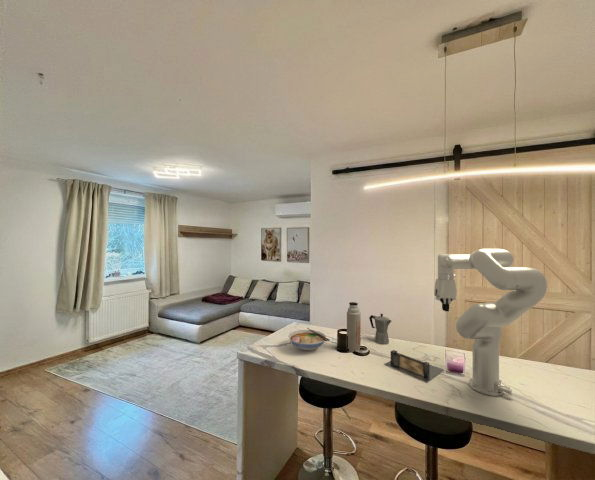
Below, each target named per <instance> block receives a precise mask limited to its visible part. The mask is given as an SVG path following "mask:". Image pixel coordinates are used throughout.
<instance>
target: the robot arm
mask: <svg viewBox="0 0 595 480" xmlns="http://www.w3.org/2000/svg"><path fill="white" fill-rule="evenodd" d="M514 260H515V258H514V256H513V254H512V253H511V252H510V251H509V250H506V249H503V248H481V249H477V250H474V251H473V252H471V253H468V254H465V253H464V254H462V253H461V254H460V253H459V254H456V253H455V254H450V253H440V254H437V278H436V279H435V283H434V291H433V294H434V298H435V300H436V301H439V302H440V303H441V309H442V311H444V312H450V304H451V302H452V301H456V299H457V293H458V292H457V285H456V280H455V278H456V274H455V273H454V272H455V271H454V270H473V269H474V270H477V271H478V272H479V273H480V274H481V276H483V277H484V278H485V279H486V281H487V282H488V283H489V284H491V286H493V287H494V288H496V289H498V290H502V291H507V293H505V294H503V295H502V296H501V297H500V298H499V299H498V300H496V301H493V302H480V303H479V302H478V303H475V304H472V305H471V306H469V307H468V308H467V309H466V310H465V312H463V313H462V314H461V315H460V317H459V318H458V319H457V321H456V322H455V323H456V324H455V328H456V332H457V333H458V335H459V336H460V337H462V338H464V339H465V340H473V342H472V378H469V379H468V380H467V384H468V386H470V388H471V389H473V390H474V391H476V392H478V393H481V394H483V395H485V396H486V395H487V396H491V397H492V396H493V397H499V396H502V395H504V393H506V394H508V395H512V394H513V389H511V388H510V386H508V385H506V384H505V385H504V384H503V383H502V379H500V345H501V344H500V343H501V339H502V338H501V337H502V335H503V327H507V326H510V325H511V324H512V323H513V322H515V321H516V320H517V319H518V318H520V317H521V316H523V315H524V314H525V313H526V312H527V311H529V310H530V309H531V308H533V307H535V306H536V305H537V304H539V303H540V302H541V300H543V299H544V297H545V295H546V294H547V288H548V282H547V278H546V277H545V274H544V273H543V272H542V271H541V270H539V269H537V268H533V267H525V266H517V267H516V266H512V265H513V263H514Z"/></svg>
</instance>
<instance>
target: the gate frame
mask: <svg viewBox="0 0 595 480" xmlns="http://www.w3.org/2000/svg"><path fill="white" fill-rule="evenodd" d="M396 352H397V353H398V351H397V350H395V349H393V350H391V351H390V360H389V361H387V362H385V363H384V364H383V365H384V366H386V367H389V368H391V369H393V370H395V371H398V372H400V373H403V374H405V375H408V376H410V377H412V378H415V379H417V380H419V381H422V382H424V383H429V382H431V381H432V380H433V379H434V378H436V377H437V376H439V375H440V374H442V373H443V372H444V371H445V369H443V368H441V367H438V366H435V365H432V364H430V362H428V361H425V362H424V361H423V362H424V375H421V374H418V373H416V372H413V371H411V370H408V369H406V368H403V367H401V366H399V356H397V355H396Z"/></svg>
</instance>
